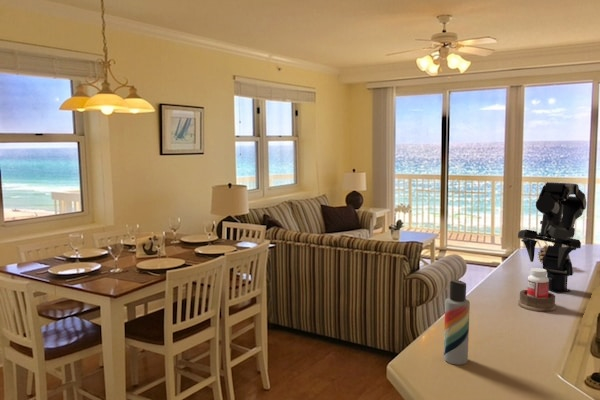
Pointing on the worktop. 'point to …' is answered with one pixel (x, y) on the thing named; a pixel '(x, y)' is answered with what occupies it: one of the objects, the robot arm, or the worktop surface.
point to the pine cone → (542, 253)
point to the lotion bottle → (456, 324)
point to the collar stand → (537, 302)
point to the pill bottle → (538, 283)
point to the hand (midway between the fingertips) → (545, 264)
